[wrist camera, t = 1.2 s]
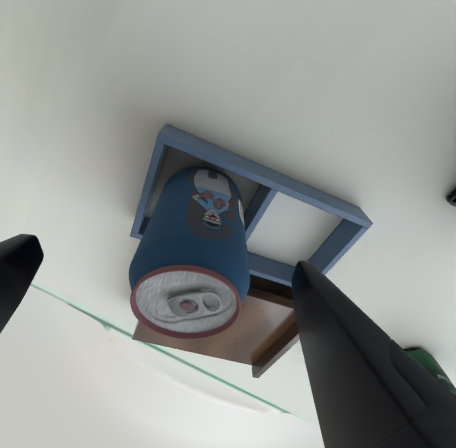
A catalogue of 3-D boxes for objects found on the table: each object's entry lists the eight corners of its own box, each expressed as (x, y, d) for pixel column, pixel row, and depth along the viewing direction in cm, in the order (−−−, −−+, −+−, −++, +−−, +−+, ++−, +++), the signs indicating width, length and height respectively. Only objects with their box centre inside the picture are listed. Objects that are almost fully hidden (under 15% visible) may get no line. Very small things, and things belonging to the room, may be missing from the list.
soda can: (178, 233, 25) (148, 351, 15) (152, 169, 21) (90, 273, 12) (246, 221, 25) (260, 338, 15) (233, 153, 21) (240, 249, 11)
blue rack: (360, 207, 24) (373, 223, 22) (302, 274, 29) (308, 292, 27) (165, 123, 19) (158, 132, 17) (138, 220, 24) (129, 236, 22)
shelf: (300, 282, 30) (314, 325, 25) (254, 336, 36) (258, 378, 31) (168, 240, 26) (156, 281, 21) (141, 308, 32) (128, 351, 27)
